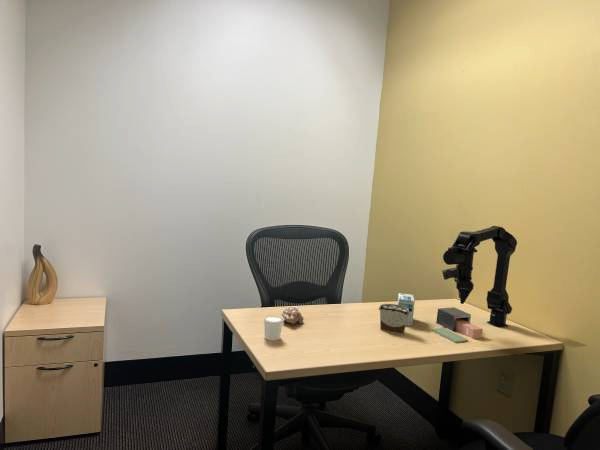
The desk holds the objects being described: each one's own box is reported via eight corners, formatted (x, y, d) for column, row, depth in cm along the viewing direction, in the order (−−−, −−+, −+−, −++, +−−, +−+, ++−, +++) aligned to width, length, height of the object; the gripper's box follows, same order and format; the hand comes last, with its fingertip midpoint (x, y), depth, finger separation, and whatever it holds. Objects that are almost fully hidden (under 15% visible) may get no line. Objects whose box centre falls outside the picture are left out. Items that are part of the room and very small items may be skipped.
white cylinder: (267, 341, 165) (268, 322, 164) (260, 335, 171) (261, 316, 170) (284, 339, 168) (286, 321, 168) (276, 333, 174) (278, 315, 174)
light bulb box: (412, 325, 195) (415, 300, 194) (396, 323, 196) (398, 298, 195) (411, 318, 205) (414, 294, 204) (396, 316, 207) (398, 292, 205)
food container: (410, 331, 188) (412, 307, 187) (407, 335, 182) (409, 310, 181) (380, 325, 193) (382, 301, 192) (376, 329, 187) (379, 305, 186)
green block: (443, 329, 193) (443, 327, 193) (468, 341, 181) (468, 339, 181) (431, 330, 191) (431, 328, 191) (455, 342, 178) (455, 341, 178)
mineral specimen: (311, 322, 185) (304, 308, 183) (295, 333, 183) (288, 320, 180) (297, 312, 196) (290, 299, 193) (282, 323, 193) (275, 310, 191)
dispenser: (452, 321, 204) (453, 307, 204) (469, 329, 195) (470, 314, 195) (436, 323, 201) (437, 308, 200) (452, 331, 192) (454, 315, 191)
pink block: (459, 327, 198) (460, 318, 198) (481, 338, 186) (482, 328, 186) (449, 328, 196) (450, 319, 196) (472, 339, 184) (473, 329, 184)
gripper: (443, 257, 198) (439, 292, 200) (445, 265, 180) (441, 304, 182) (471, 259, 196) (467, 295, 198) (475, 268, 178) (471, 308, 180)
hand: (461, 300), depth 189 cm, fingers open, 9 cm apart
